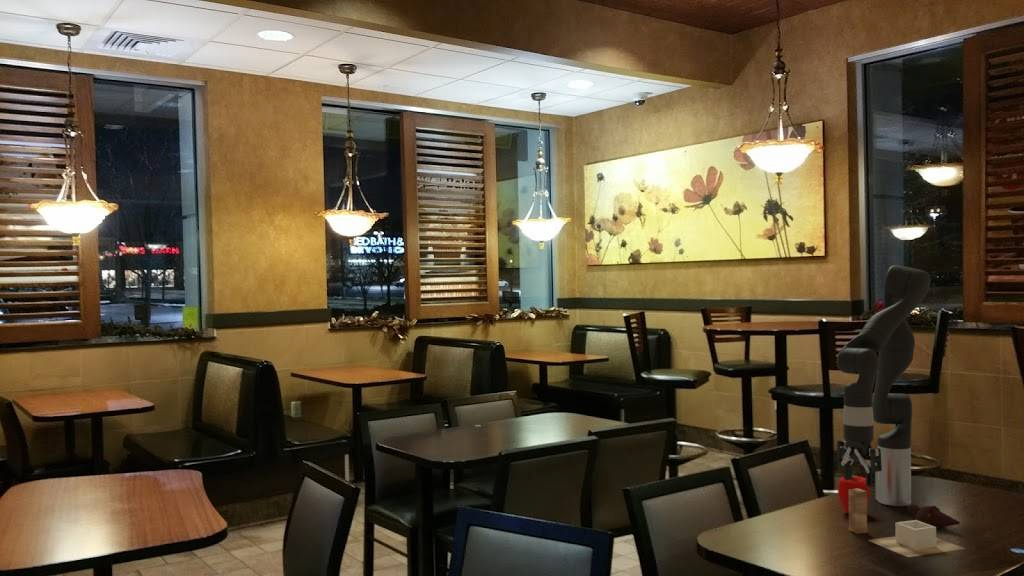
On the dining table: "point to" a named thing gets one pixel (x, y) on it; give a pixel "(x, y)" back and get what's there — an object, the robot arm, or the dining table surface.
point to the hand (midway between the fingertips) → (858, 483)
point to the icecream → (931, 516)
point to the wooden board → (909, 552)
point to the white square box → (915, 534)
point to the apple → (851, 484)
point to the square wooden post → (857, 511)
